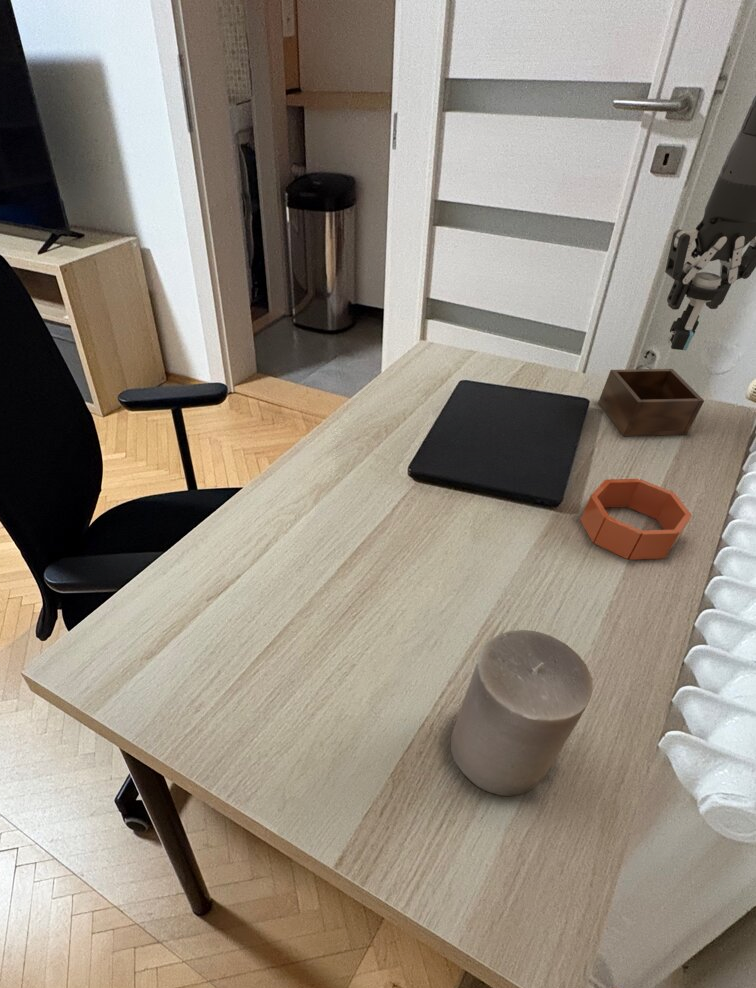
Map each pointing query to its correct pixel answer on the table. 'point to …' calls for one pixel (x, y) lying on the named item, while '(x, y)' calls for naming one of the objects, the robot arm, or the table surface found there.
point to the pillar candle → (519, 711)
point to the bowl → (643, 500)
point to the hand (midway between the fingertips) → (692, 306)
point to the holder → (649, 402)
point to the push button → (694, 308)
